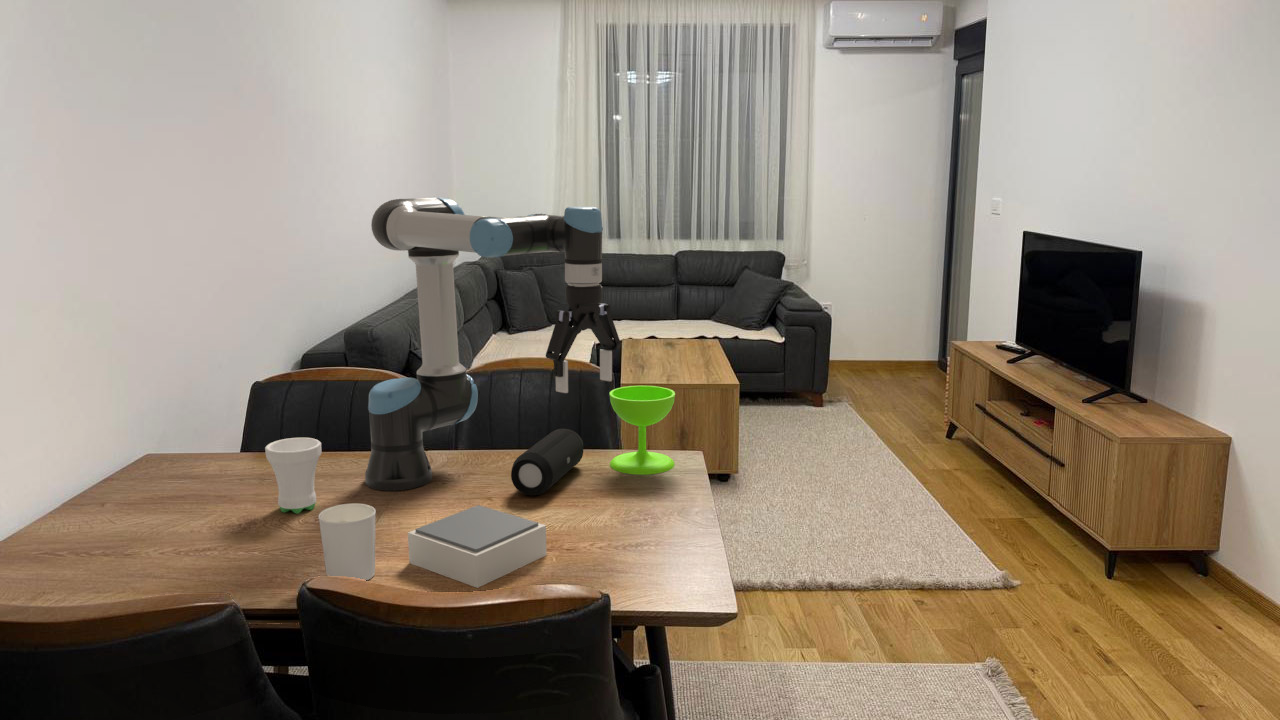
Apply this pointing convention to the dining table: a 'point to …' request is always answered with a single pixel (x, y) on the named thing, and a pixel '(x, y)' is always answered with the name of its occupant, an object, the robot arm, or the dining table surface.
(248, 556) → the dining table surface
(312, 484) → the cup
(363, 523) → the candle holder
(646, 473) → the wineglass
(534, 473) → the portable speaker
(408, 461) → the robot arm
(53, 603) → the dining table surface
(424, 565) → the plinth
